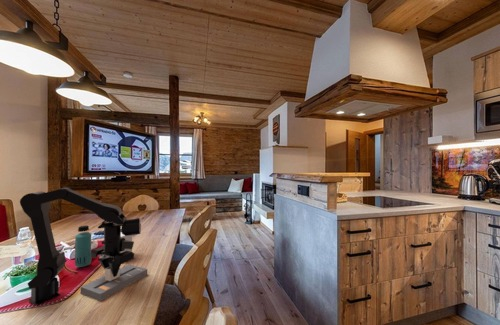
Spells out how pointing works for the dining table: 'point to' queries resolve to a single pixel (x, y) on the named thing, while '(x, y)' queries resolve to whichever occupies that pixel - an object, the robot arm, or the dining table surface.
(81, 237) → the beverage bottle
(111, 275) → the fader knob
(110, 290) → the console
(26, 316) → the dining table surface
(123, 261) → the robot arm
